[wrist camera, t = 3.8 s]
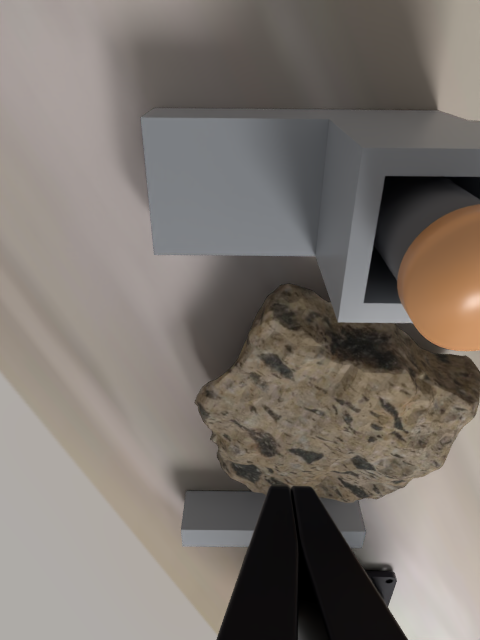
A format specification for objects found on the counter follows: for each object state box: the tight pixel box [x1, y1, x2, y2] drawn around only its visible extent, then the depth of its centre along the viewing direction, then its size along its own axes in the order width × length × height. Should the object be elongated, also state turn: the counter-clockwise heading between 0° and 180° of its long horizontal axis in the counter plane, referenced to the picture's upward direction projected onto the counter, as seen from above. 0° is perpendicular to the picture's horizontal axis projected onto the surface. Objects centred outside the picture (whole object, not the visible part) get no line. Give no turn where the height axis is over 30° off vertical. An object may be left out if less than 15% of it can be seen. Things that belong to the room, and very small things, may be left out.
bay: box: [141, 108, 480, 548], centre depth 19 cm, size 22×10×7 cm, turn 0°
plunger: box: [373, 176, 480, 351], centre depth 12 cm, size 3×3×6 cm
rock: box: [195, 284, 480, 503], centre depth 21 cm, size 11×12×4 cm
